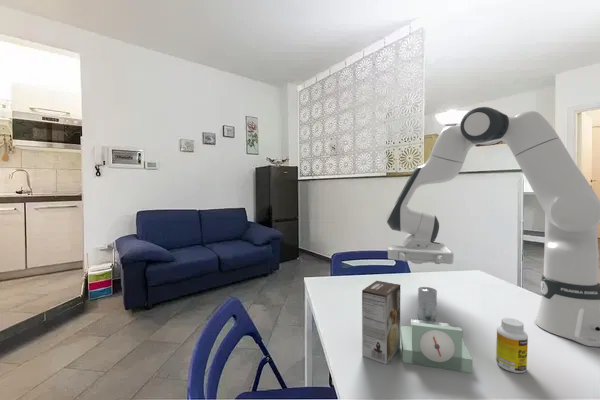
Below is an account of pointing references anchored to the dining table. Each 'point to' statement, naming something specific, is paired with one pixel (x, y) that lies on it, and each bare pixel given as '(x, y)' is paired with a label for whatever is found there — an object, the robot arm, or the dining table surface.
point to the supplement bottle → (512, 346)
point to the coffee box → (381, 321)
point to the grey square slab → (429, 322)
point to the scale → (435, 347)
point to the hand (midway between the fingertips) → (421, 260)
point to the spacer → (427, 304)
